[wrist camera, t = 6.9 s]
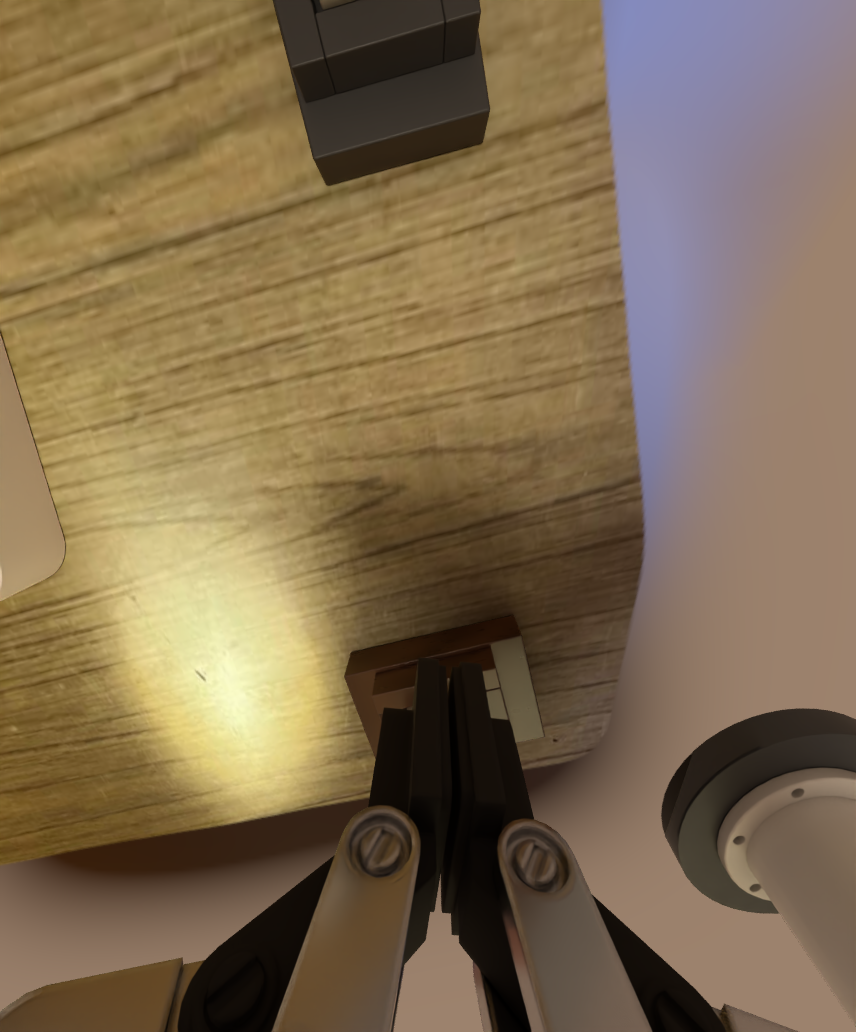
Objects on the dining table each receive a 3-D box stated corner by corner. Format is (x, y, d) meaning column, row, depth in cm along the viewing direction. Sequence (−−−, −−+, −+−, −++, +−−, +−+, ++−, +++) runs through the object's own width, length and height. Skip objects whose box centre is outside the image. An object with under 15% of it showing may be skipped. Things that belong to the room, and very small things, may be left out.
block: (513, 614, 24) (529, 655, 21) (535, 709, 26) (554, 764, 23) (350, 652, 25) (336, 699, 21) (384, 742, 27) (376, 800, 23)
